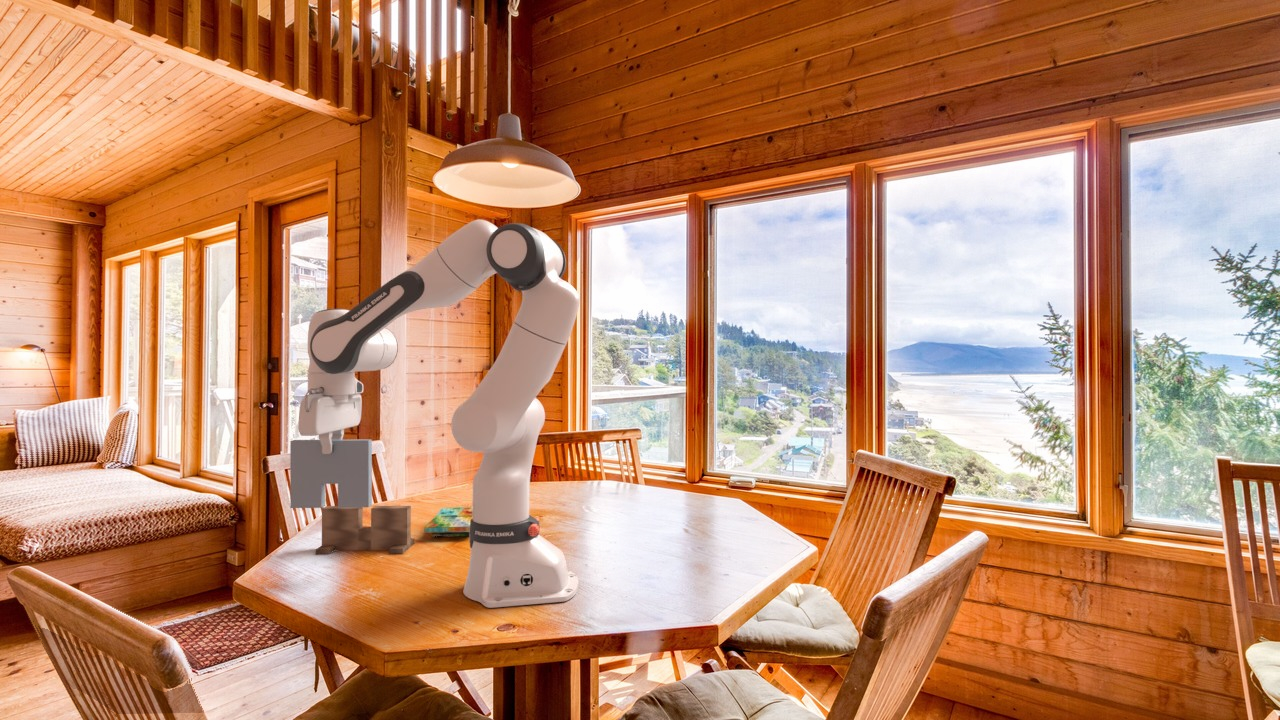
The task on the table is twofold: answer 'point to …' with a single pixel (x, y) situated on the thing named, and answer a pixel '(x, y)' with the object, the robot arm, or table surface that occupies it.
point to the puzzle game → (451, 522)
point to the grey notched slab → (331, 473)
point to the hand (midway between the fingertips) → (331, 452)
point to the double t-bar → (366, 529)
